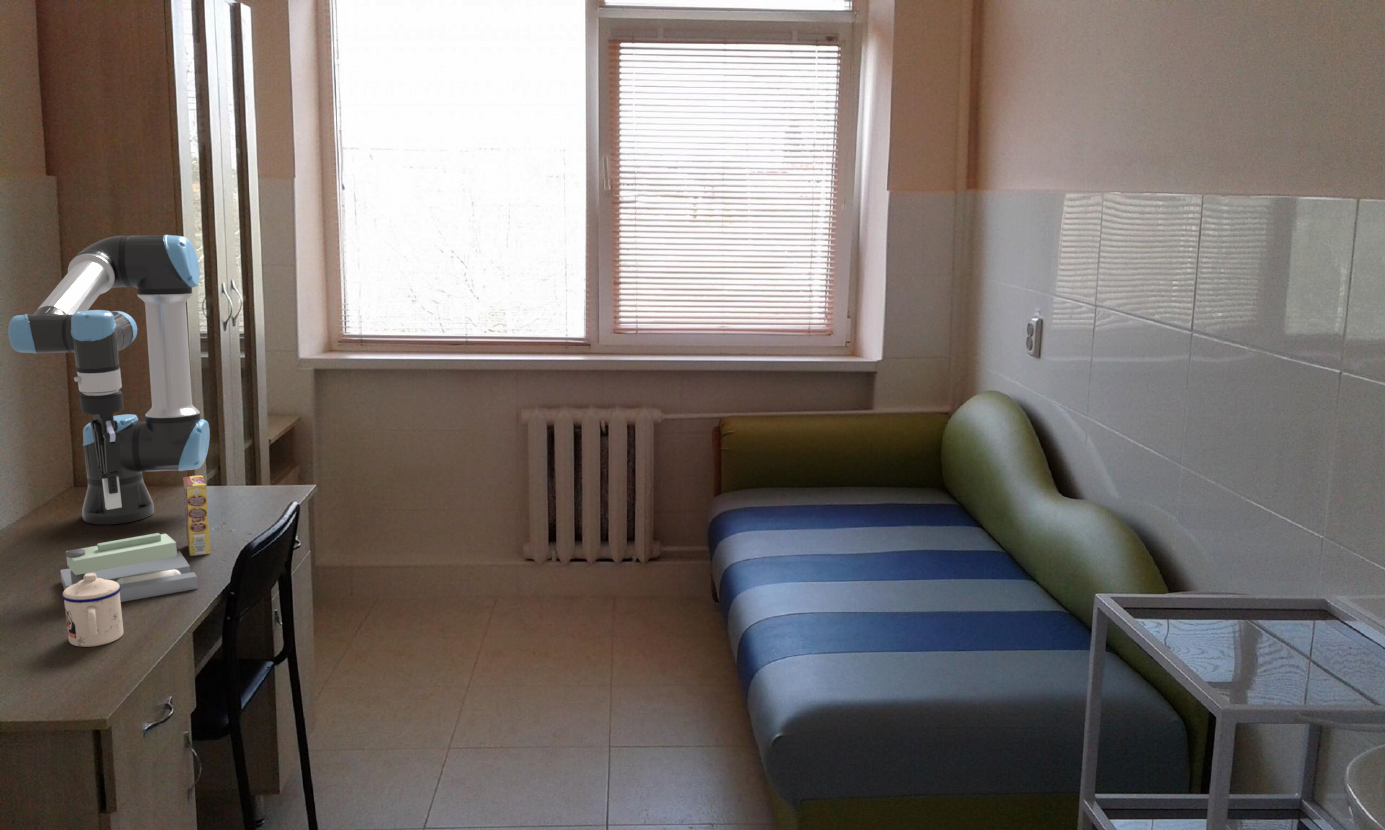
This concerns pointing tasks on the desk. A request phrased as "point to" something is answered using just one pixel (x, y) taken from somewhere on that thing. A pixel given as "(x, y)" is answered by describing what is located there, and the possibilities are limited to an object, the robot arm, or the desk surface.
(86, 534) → the desk surface
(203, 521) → the candy box
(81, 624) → the teacup with lid
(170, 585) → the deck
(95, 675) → the desk surface
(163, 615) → the desk surface
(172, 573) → the white rounded rod
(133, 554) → the cover
